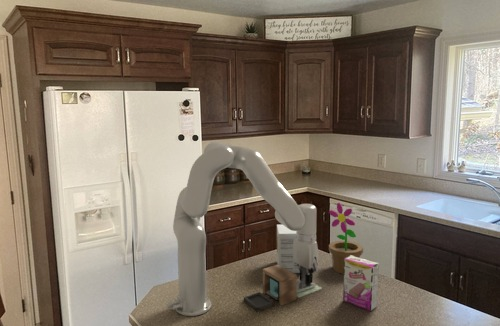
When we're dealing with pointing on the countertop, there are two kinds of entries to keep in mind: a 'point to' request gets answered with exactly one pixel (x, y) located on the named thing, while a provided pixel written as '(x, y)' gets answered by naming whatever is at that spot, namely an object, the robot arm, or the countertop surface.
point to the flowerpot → (343, 248)
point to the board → (308, 291)
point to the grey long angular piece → (300, 285)
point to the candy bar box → (360, 282)
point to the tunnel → (281, 283)
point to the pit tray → (258, 301)
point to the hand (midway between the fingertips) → (305, 281)
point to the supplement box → (286, 248)
